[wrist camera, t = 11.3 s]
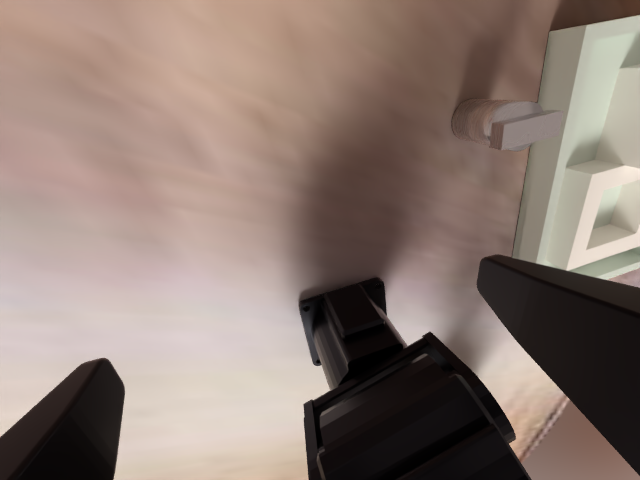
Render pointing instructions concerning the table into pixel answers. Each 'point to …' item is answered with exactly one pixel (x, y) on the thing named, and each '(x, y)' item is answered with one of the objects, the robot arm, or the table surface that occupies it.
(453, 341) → the table surface
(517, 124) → the grey knob with bar
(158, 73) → the table surface
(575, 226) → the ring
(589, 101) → the tray
